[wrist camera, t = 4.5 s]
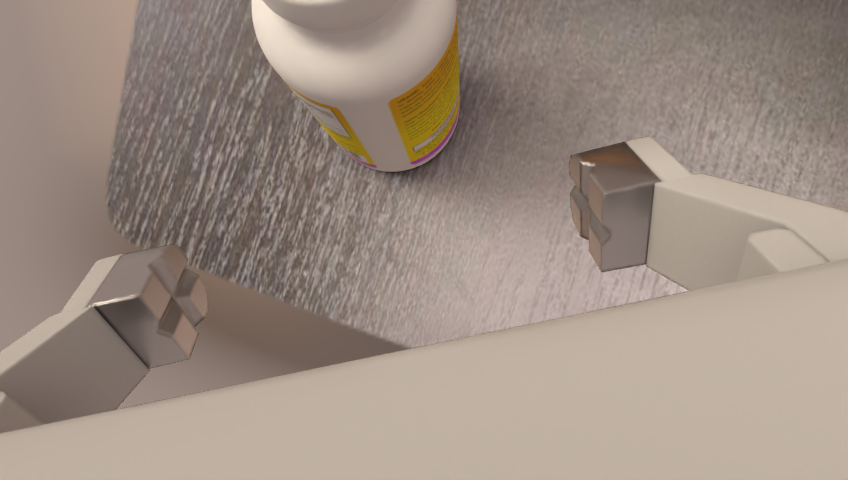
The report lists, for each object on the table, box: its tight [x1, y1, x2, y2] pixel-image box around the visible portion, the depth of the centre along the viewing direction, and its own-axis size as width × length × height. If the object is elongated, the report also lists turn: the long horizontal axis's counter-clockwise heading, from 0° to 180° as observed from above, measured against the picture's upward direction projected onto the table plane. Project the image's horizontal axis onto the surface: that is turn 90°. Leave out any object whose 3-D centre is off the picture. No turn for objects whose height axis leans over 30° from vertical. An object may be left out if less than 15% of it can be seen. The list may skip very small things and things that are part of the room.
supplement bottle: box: [252, 0, 460, 172], centre depth 19 cm, size 7×7×13 cm
